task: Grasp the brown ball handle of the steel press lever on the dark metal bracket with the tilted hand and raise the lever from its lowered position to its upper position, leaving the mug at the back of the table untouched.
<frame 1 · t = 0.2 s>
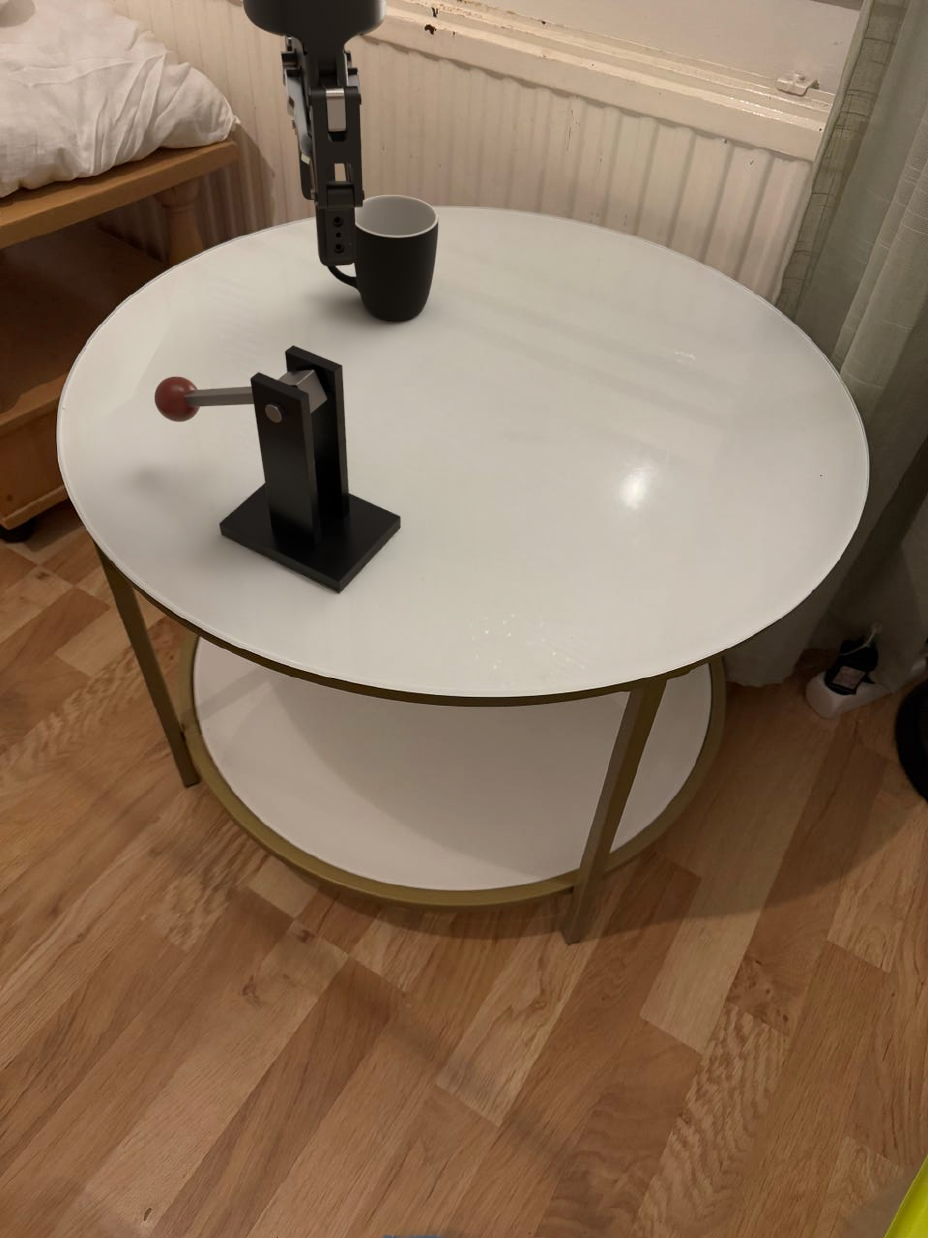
hand: (327, 228, 57), 26 cm above the table, tool pointing down, fingers open, 8 cm apart
mug: (380, 305, 99), on the table
bracket: (311, 530, 76), on the table
lever: (233, 396, 70), point 11 cm above the table, hinge at -25.0°
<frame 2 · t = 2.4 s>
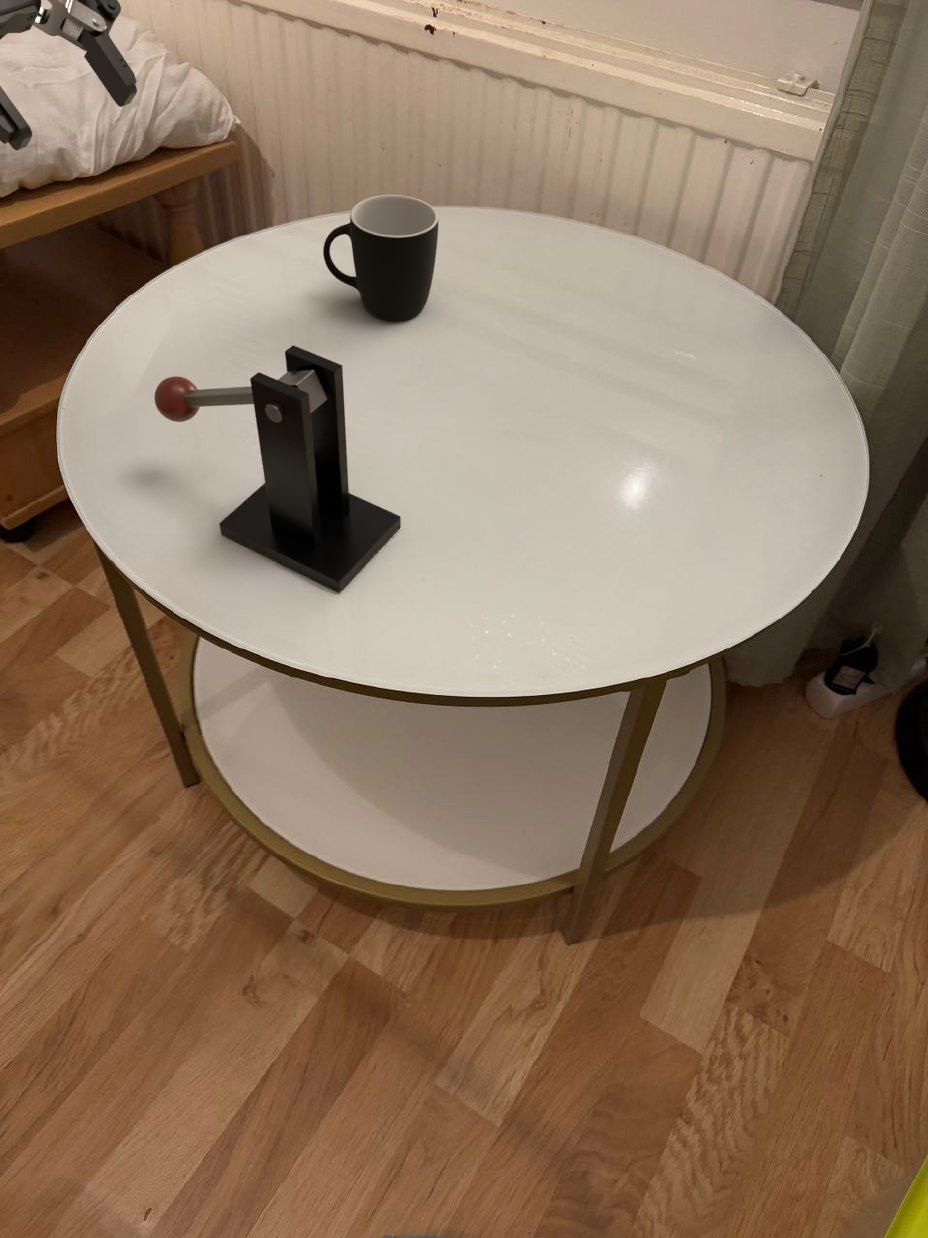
hand: (79, 120, 59), 28 cm above the table, tool tilted 45°, fingers open, 8 cm apart
nothing on the table moved.
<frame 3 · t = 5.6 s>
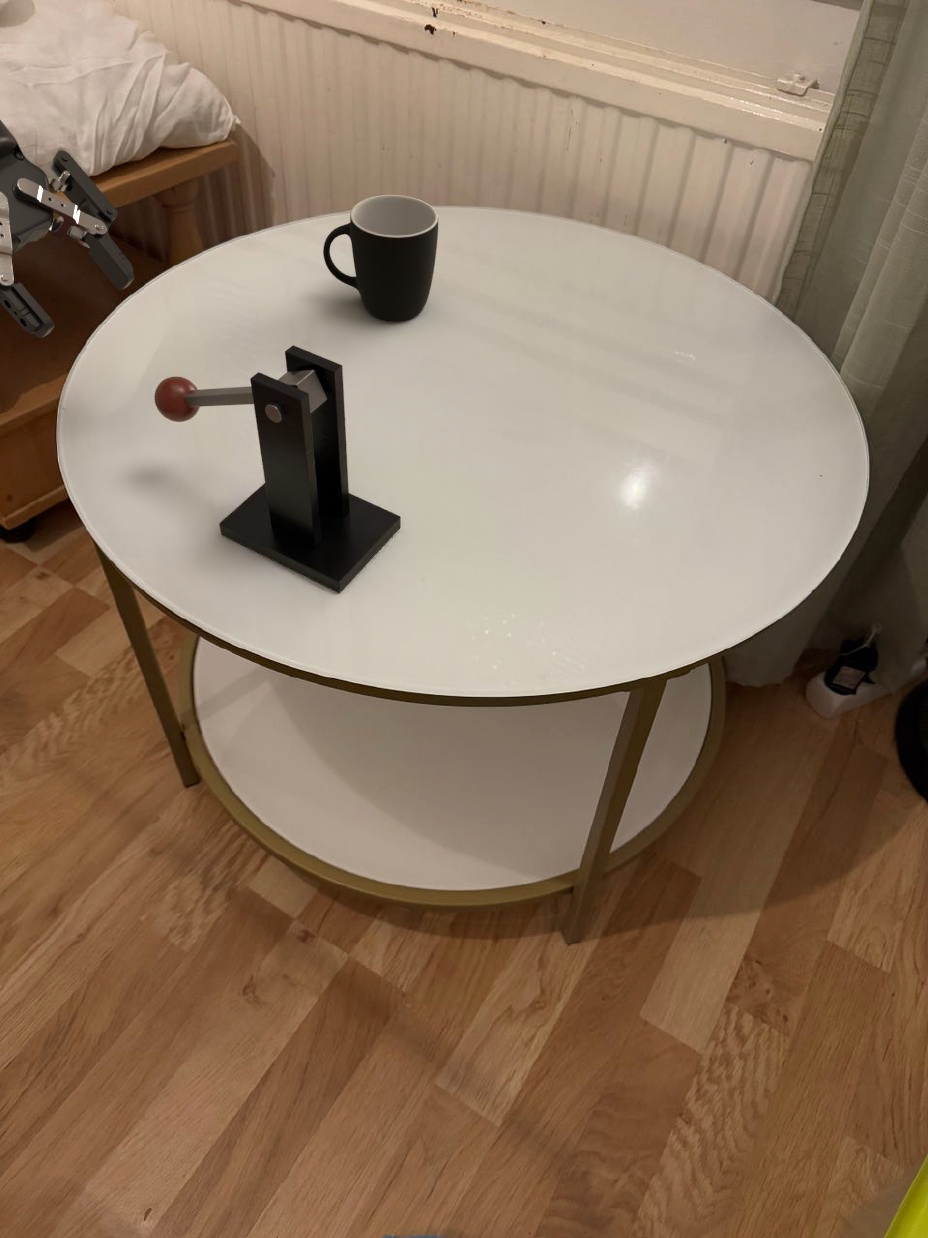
hand: (89, 307, 71), 14 cm above the table, tool tilted 45°, fingers open, 8 cm apart
nothing on the table moved.
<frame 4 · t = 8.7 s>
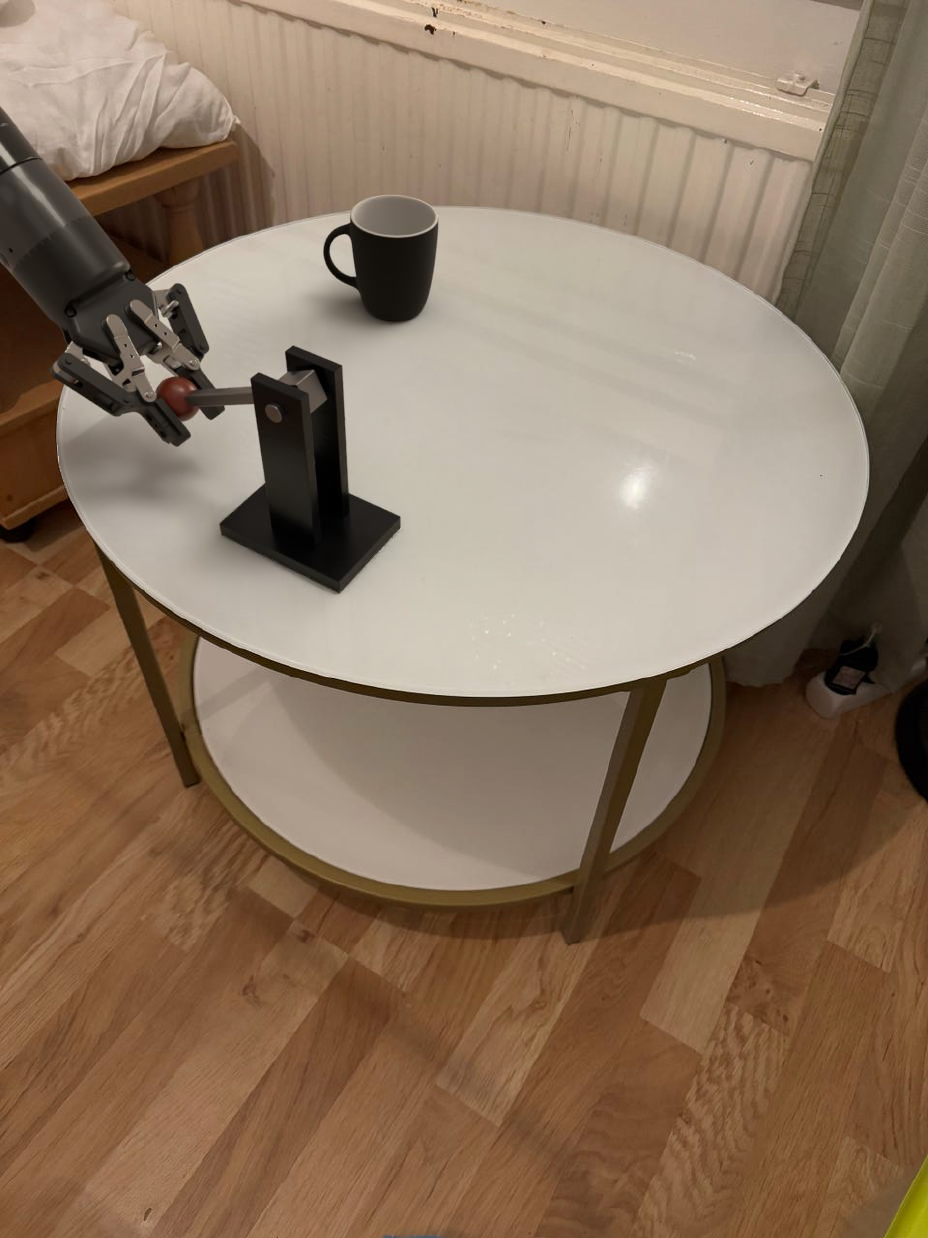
hand: (201, 427, 75), 6 cm above the table, tool tilted 45°, fingers closed on lever, 3 cm apart
lever: (233, 396, 70), point 11 cm above the table, hinge at -25.0°, touching gripper
everything else where it was.
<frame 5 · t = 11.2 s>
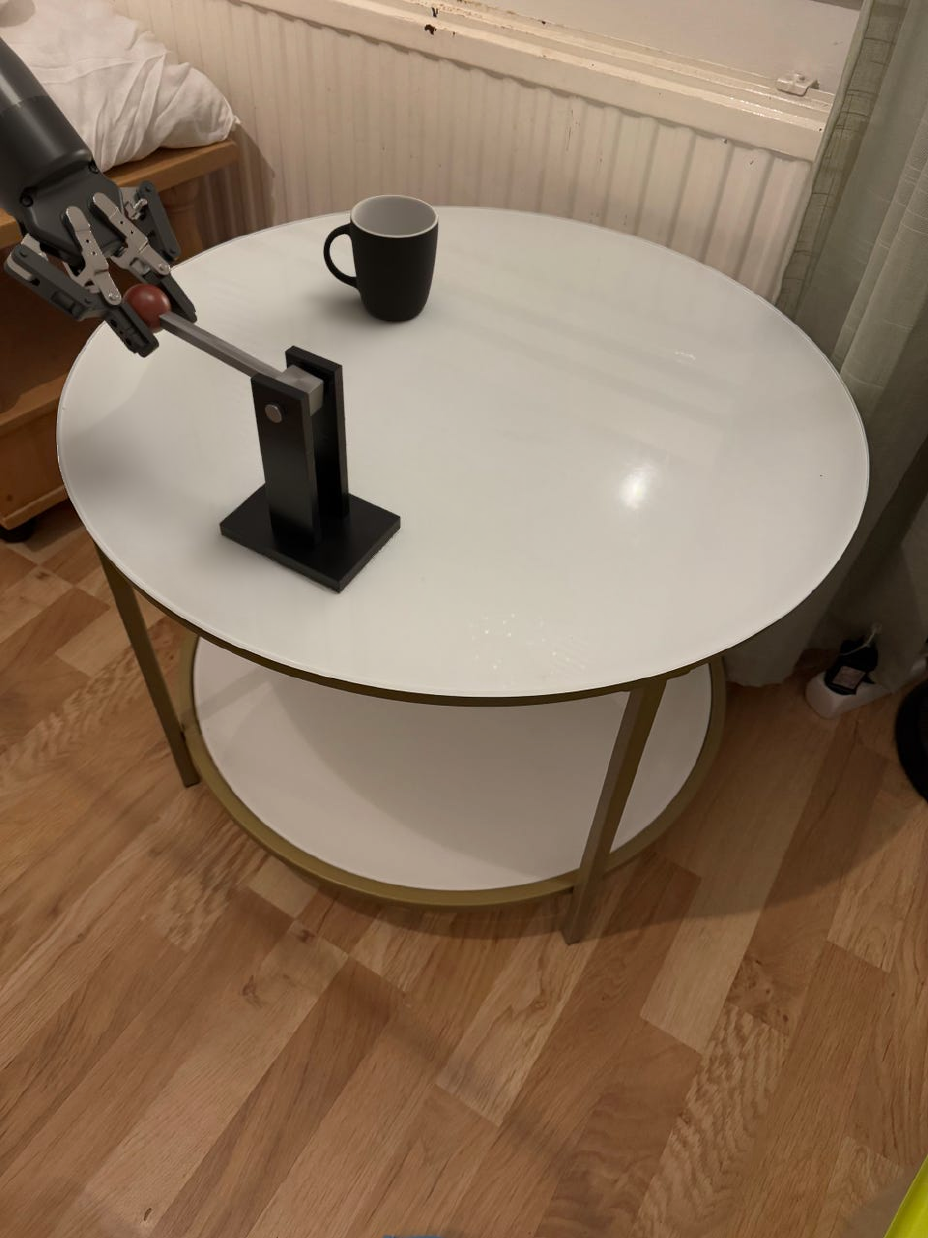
hand: (170, 337, 69), 14 cm above the table, tool tilted 45°, fingers closed on lever, 3 cm apart
lever: (219, 348, 67), point 15 cm above the table, hinge at 7.4°, touching gripper
everything else where it was.
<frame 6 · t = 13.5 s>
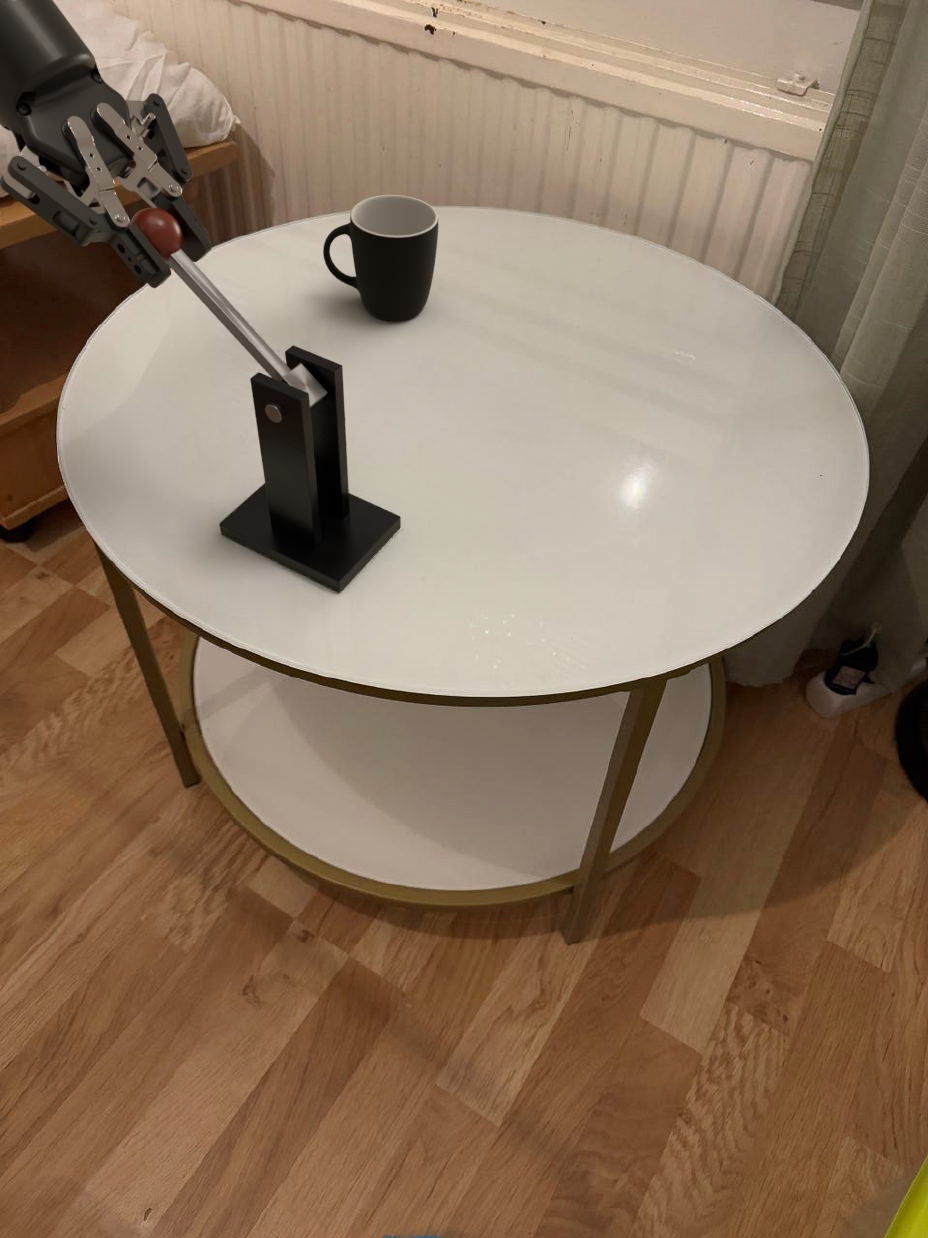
hand: (183, 266, 63), 21 cm above the table, tool tilted 45°, fingers closed on lever, 3 cm apart
lever: (227, 313, 64), point 18 cm above the table, hinge at 36.2°, touching gripper
everything else where it was.
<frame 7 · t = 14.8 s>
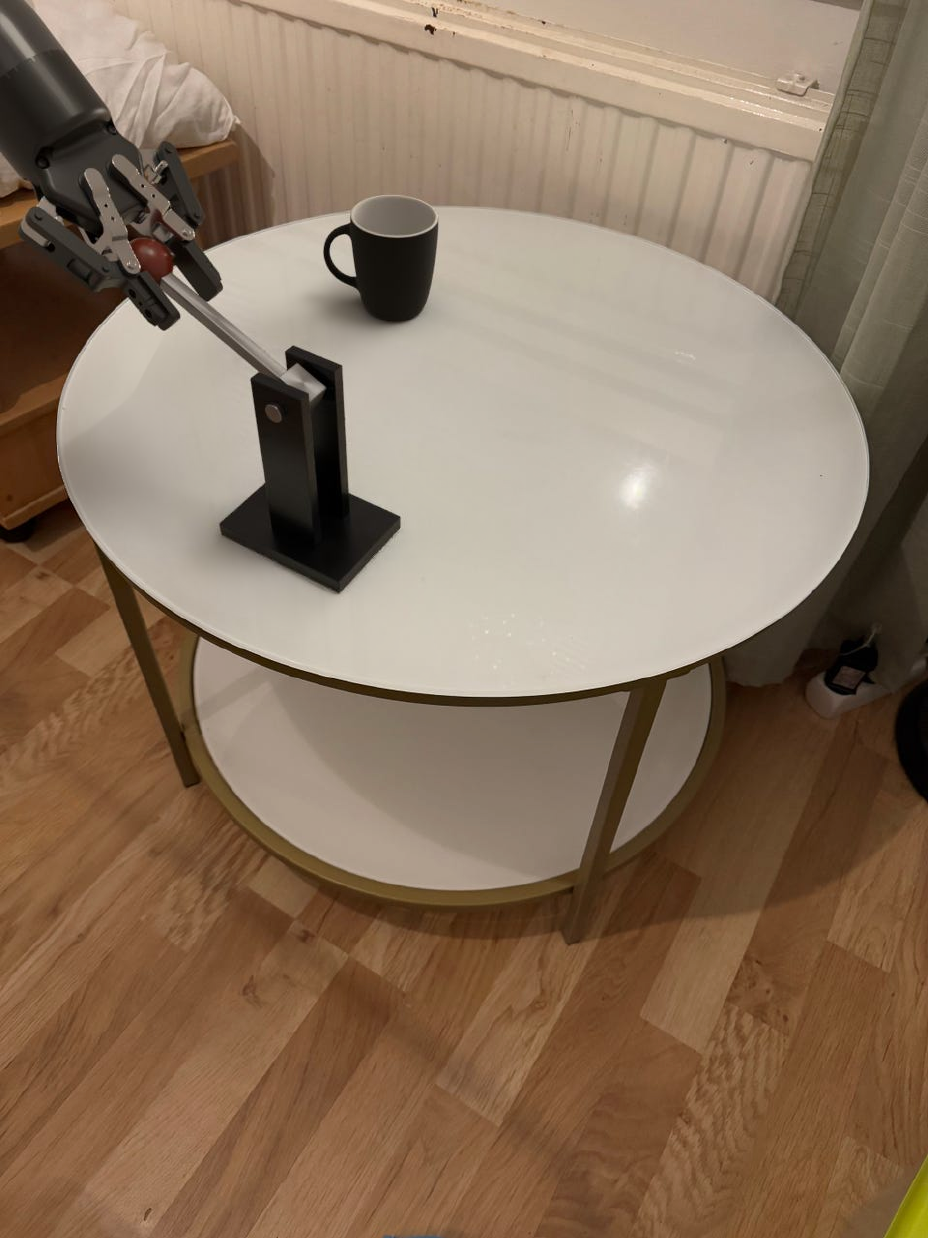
hand: (193, 308, 65), 18 cm above the table, tool tilted 45°, fingers open, 4 cm apart
lever: (221, 327, 65), point 17 cm above the table, hinge at 24.0°
everything else where it was.
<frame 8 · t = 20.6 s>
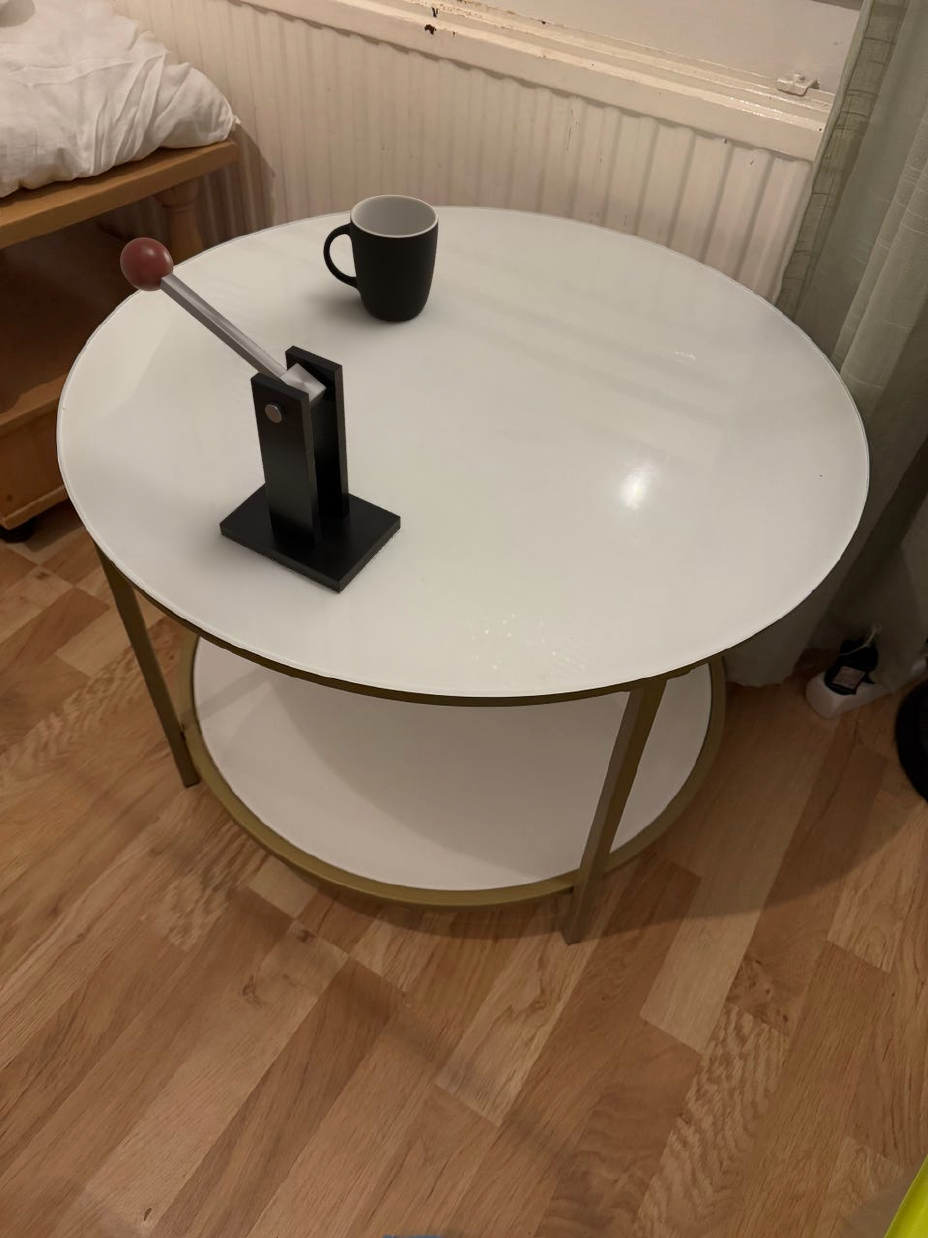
nothing on the table moved.
at the end: lever at +24° (first picture: -25°); mug moved 0.2 cm from its start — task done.
